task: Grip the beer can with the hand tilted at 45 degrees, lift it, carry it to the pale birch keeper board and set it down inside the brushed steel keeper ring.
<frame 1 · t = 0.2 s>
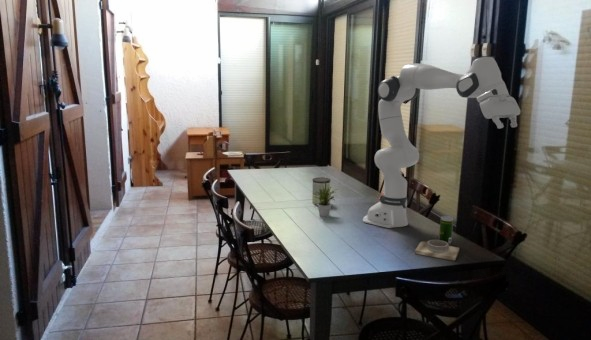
hand: (508, 127, 180), 54 cm above the table, tool tilted 30°, fingers open, 8 cm apart
glass jar with lid: (320, 203, 271), on the table
beer can: (444, 243, 209), on the table
keeper board: (437, 252, 198), on the table
house plant: (324, 216, 246), on the table
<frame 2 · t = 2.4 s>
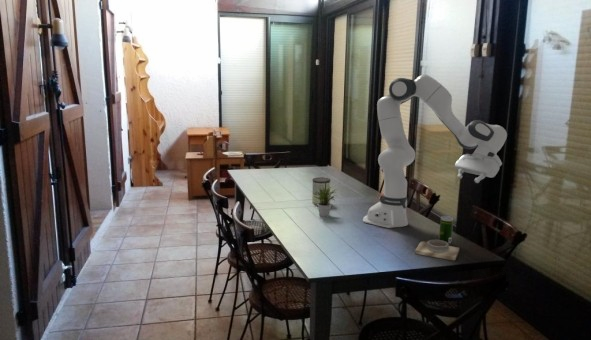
hand: (467, 179, 210), 27 cm above the table, tool tilted 45°, fingers open, 8 cm apart
nothing on the table moved.
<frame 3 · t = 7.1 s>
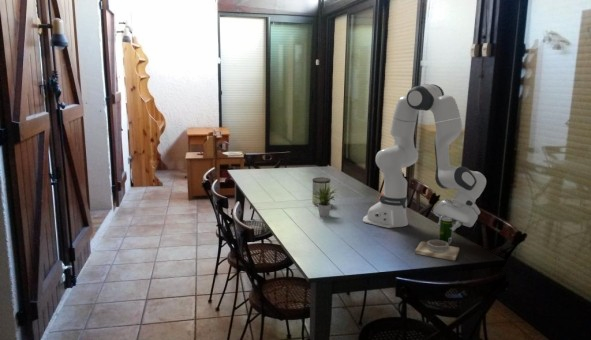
hand: (445, 227, 207), 7 cm above the table, tool tilted 45°, fingers closed on beer can, 5 cm apart
beer can: (444, 243, 209), on the table, touching gripper
everything else where it was.
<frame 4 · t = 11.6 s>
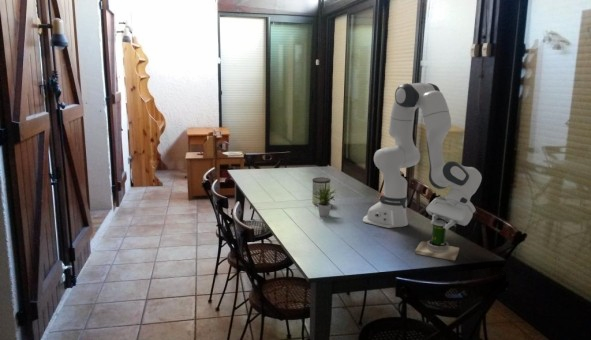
hand: (438, 226, 195), 11 cm above the table, tool tilted 45°, fingers closed on beer can, 5 cm apart
beer can: (437, 249, 198), point 1 cm above the table, touching gripper, keeper board
everything else where it was.
when the fingers open (10 cm above the table, at t = 12.4 s): beer can stays where it is, resting on keeper board.
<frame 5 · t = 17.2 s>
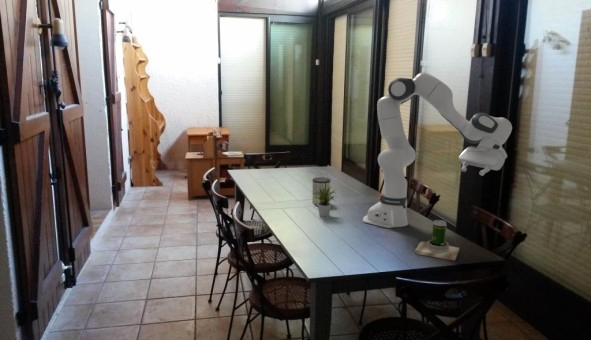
hand: (471, 172, 207), 31 cm above the table, tool tilted 45°, fingers open, 8 cm apart
beer can: (437, 249, 198), point 1 cm above the table, touching keeper board
everything else where it was.
at the end: beer can 0.1 cm off-centre on the keeper board, point 1.3 cm above the keeper board's base; beer can tilted 0°; the gripper is holding nothing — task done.
